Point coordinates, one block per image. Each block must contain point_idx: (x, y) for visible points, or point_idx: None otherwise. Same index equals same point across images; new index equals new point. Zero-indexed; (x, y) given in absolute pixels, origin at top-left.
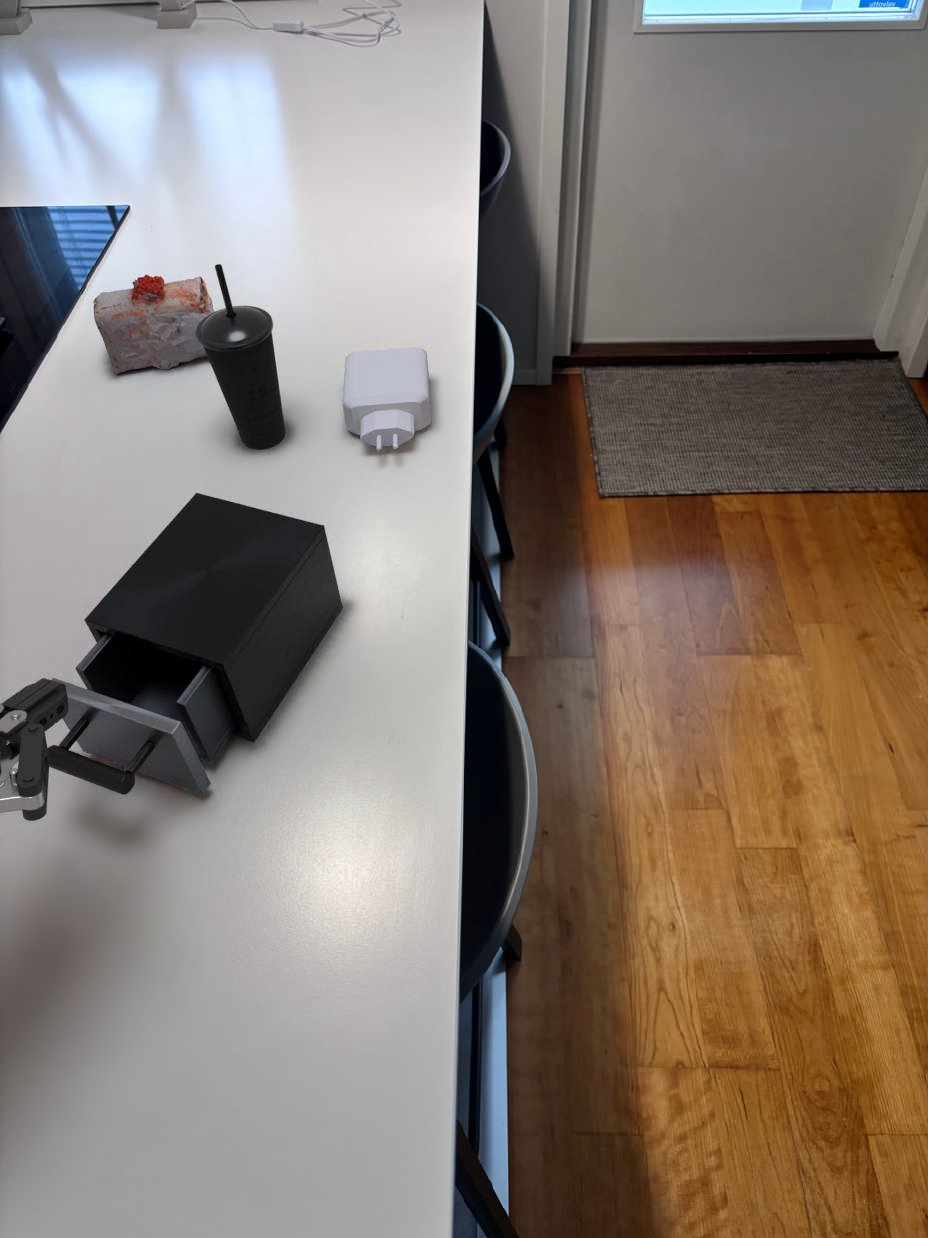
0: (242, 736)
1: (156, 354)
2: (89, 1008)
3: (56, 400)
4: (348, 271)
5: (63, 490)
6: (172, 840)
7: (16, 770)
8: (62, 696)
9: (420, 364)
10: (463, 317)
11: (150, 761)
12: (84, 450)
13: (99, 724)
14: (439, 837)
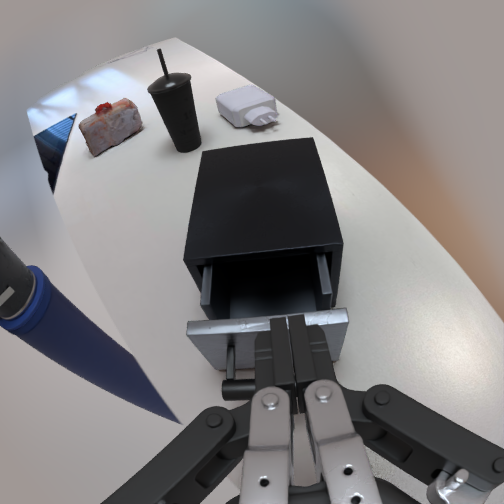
0: None
1: (112, 137)
2: None
3: (71, 179)
4: None
5: (92, 213)
6: None
7: (465, 471)
8: (321, 330)
9: (258, 88)
10: (250, 82)
11: None
12: (94, 191)
13: (248, 345)
14: (481, 302)
